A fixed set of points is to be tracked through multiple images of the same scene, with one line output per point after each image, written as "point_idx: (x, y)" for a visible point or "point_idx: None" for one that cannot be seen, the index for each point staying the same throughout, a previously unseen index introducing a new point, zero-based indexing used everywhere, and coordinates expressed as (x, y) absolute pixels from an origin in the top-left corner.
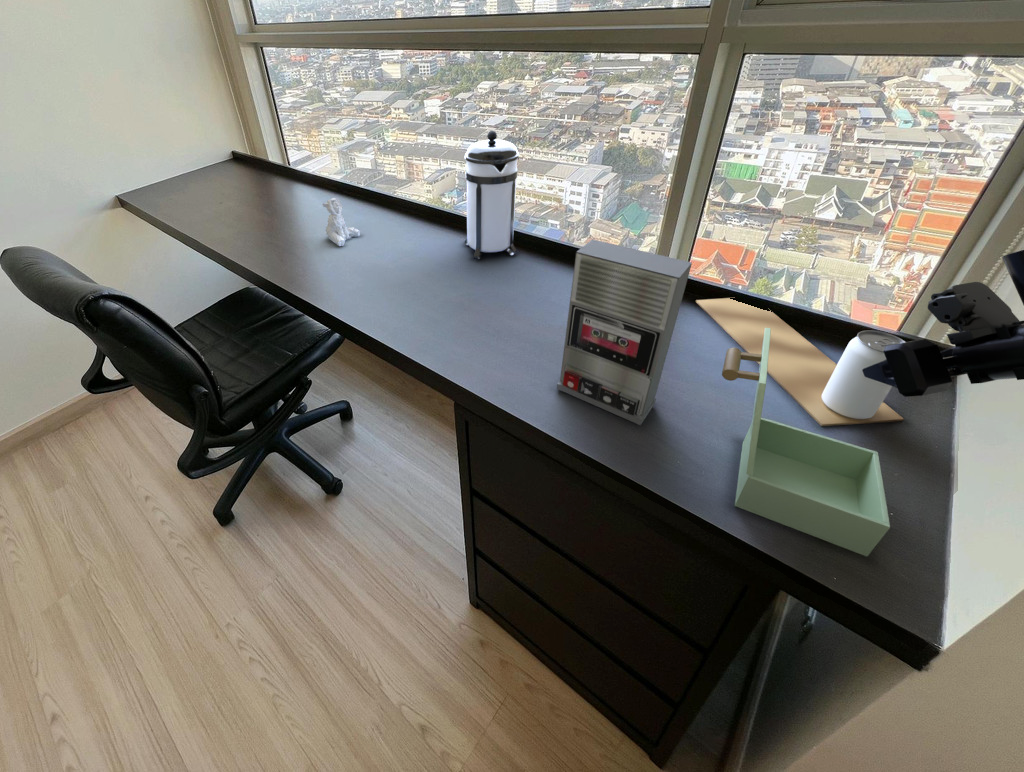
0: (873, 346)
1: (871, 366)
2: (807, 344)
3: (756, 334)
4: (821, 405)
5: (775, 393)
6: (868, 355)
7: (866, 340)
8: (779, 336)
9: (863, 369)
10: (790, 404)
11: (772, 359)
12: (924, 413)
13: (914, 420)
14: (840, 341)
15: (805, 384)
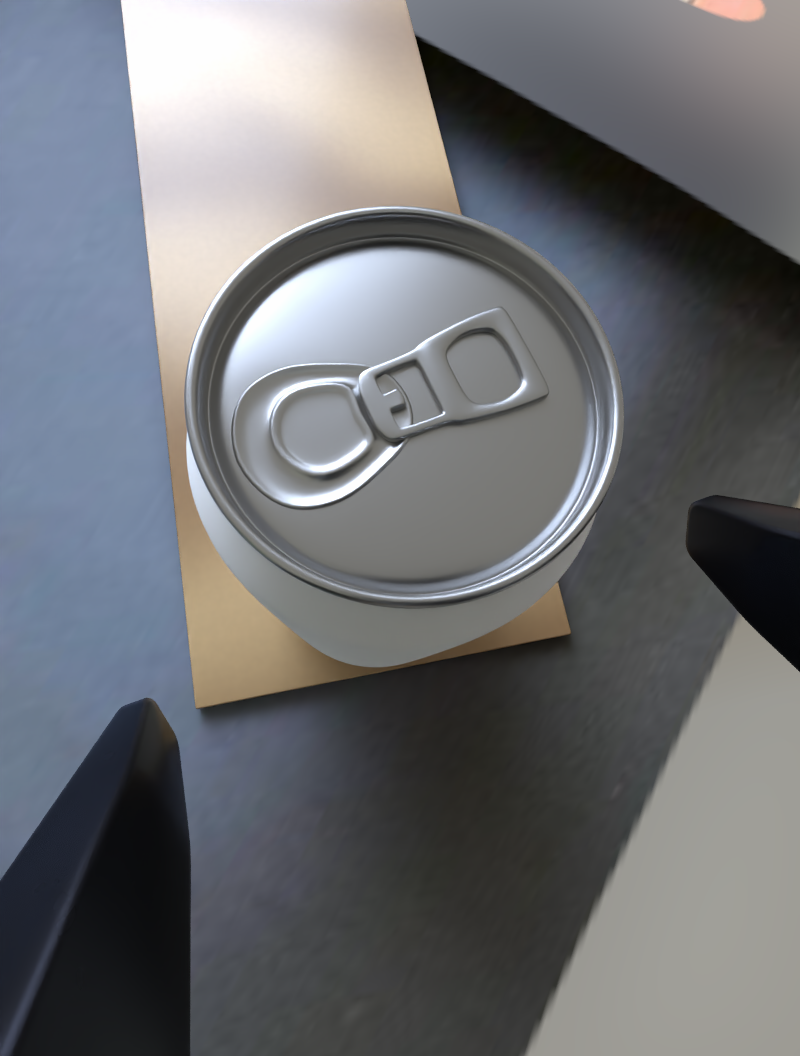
0: (286, 457)
1: (39, 832)
2: (429, 170)
3: (247, 105)
4: None
5: (118, 490)
6: (231, 546)
7: (286, 355)
8: (339, 119)
9: (117, 718)
10: (144, 563)
11: (223, 267)
12: (674, 577)
13: (614, 626)
14: (578, 149)
15: None
